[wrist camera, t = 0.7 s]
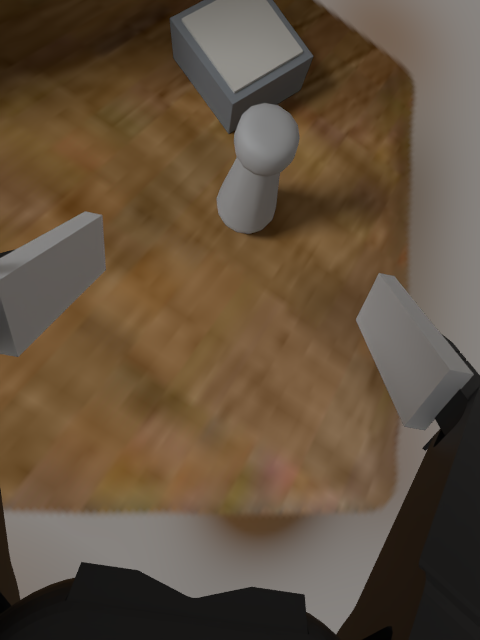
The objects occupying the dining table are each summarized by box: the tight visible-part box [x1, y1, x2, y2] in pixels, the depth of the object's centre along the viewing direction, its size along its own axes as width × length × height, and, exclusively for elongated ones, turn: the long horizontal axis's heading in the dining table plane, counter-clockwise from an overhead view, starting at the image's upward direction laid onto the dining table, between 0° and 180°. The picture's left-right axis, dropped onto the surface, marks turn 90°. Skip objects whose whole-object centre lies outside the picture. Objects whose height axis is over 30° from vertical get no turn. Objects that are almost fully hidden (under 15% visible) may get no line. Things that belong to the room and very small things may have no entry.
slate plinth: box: [170, 0, 313, 133], centre depth 31 cm, size 10×10×4 cm
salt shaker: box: [217, 103, 299, 234], centre depth 26 cm, size 6×6×13 cm
